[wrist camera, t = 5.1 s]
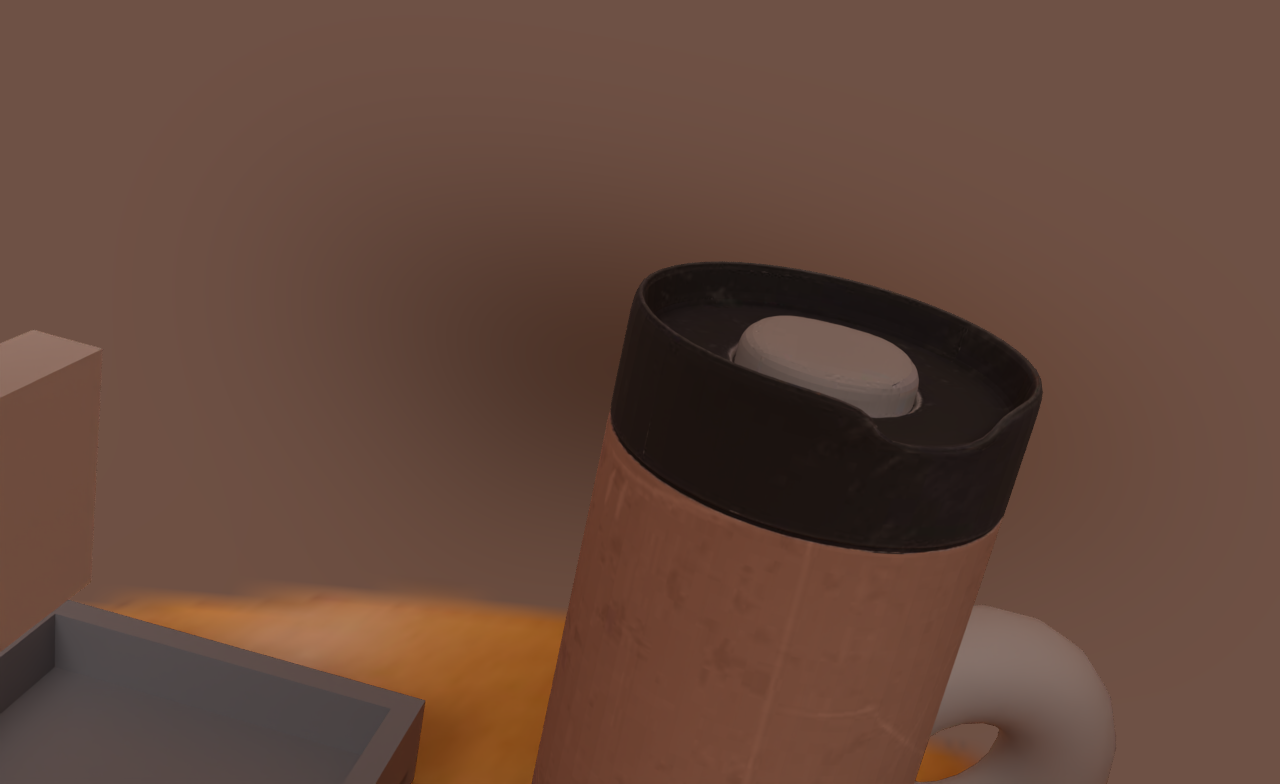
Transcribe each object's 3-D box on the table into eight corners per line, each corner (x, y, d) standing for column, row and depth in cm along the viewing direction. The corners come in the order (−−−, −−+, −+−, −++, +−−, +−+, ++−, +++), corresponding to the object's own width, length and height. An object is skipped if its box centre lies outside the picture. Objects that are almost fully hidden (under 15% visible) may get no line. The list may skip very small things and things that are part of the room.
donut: (764, 917, 35) (852, 633, 31) (741, 831, 38) (817, 564, 34) (1073, 931, 36) (1189, 664, 33) (1026, 848, 40) (1127, 596, 36)
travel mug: (575, 918, 33) (729, 238, 26) (827, 1063, 30) (1080, 347, 23) (406, 1131, 27) (548, 302, 19) (708, 1343, 24) (1008, 466, 16)
